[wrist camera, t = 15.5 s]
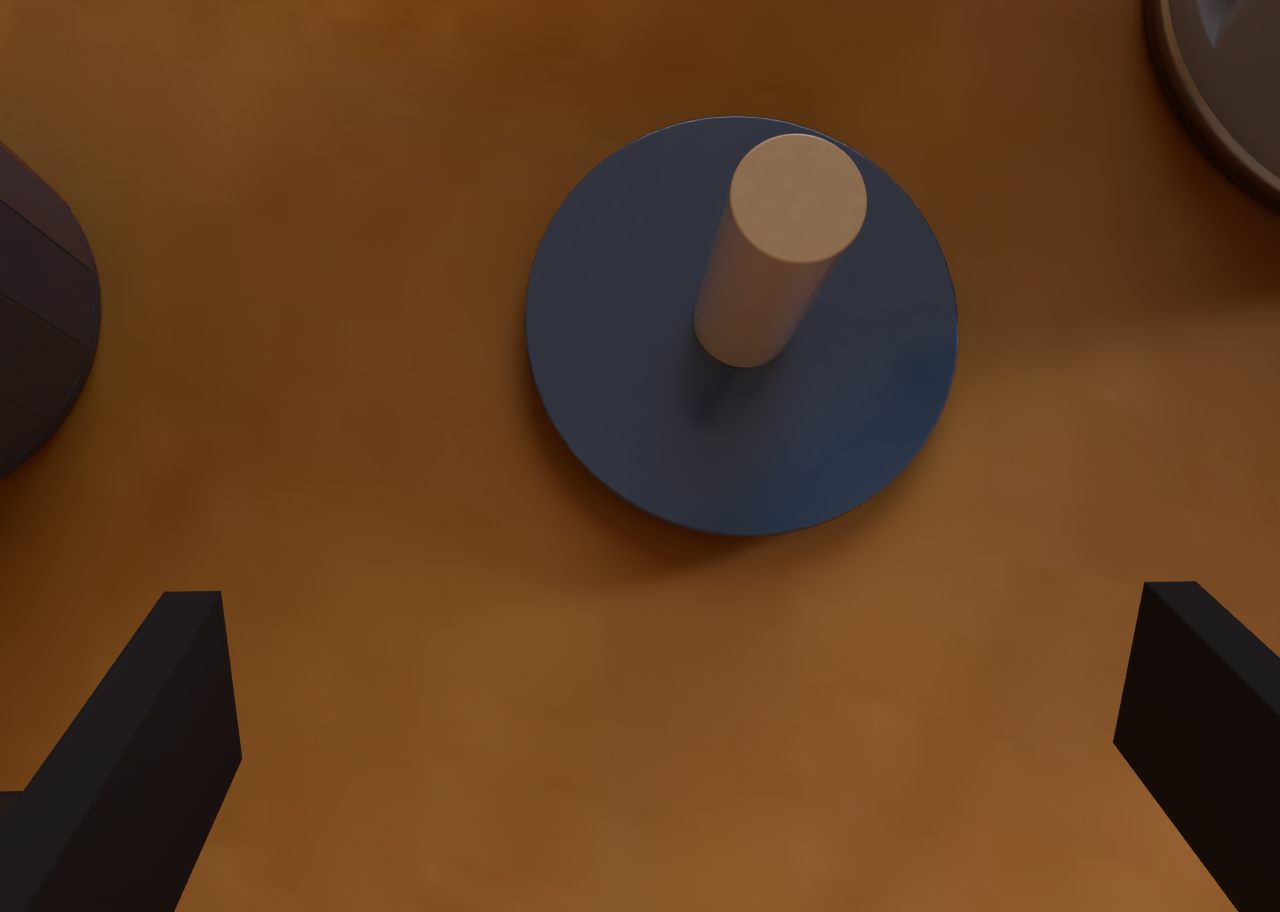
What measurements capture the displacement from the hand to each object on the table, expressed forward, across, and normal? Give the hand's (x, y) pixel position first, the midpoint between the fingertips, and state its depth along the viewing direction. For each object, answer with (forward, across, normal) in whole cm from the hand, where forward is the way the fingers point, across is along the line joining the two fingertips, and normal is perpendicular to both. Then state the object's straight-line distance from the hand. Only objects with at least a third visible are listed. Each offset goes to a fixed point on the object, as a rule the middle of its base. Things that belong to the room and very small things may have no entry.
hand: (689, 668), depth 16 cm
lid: (+19, +3, 0) cm, 19 cm away
